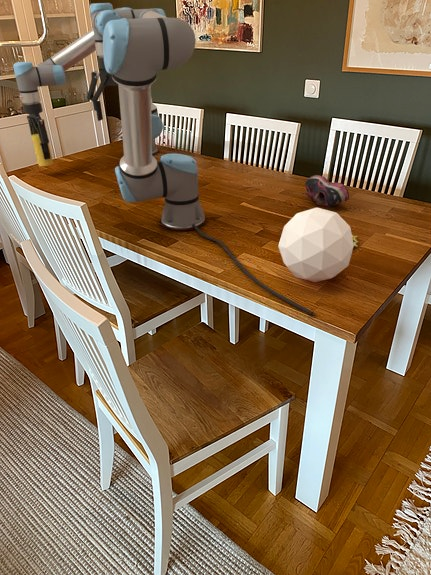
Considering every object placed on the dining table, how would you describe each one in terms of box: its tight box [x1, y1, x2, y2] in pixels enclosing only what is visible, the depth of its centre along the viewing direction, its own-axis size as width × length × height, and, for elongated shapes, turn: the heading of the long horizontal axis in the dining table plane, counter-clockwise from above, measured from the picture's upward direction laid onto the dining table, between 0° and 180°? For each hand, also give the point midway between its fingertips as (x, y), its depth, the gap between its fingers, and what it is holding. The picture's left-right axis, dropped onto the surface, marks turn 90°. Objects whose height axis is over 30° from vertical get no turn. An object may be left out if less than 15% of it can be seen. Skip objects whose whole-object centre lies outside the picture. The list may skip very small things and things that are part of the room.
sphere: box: [277, 207, 355, 283], centre depth 118 cm, size 19×20×20 cm
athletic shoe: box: [302, 174, 350, 208], centre depth 165 cm, size 11×22×12 cm
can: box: [30, 134, 54, 167], centre depth 198 cm, size 6×6×13 cm
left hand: (44, 157), depth 200 cm, fingers closed on can, 6 cm apart
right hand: (117, 120), depth 164 cm, fingers open, 13 cm apart
